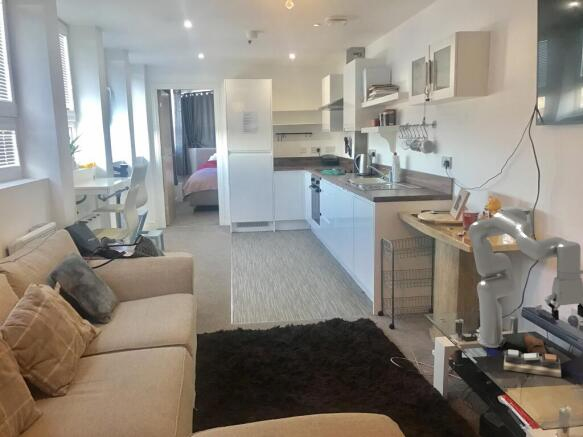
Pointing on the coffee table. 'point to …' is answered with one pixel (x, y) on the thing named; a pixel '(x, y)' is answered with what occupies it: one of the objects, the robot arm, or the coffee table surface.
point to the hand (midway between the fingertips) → (568, 317)
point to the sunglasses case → (534, 345)
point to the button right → (550, 357)
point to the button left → (513, 353)
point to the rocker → (531, 356)
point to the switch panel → (532, 365)
